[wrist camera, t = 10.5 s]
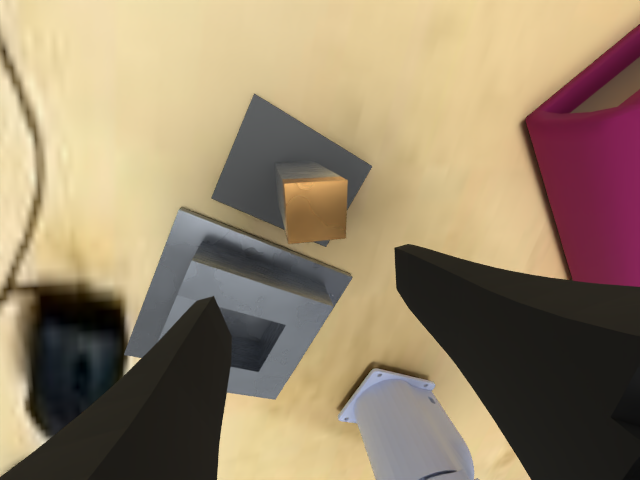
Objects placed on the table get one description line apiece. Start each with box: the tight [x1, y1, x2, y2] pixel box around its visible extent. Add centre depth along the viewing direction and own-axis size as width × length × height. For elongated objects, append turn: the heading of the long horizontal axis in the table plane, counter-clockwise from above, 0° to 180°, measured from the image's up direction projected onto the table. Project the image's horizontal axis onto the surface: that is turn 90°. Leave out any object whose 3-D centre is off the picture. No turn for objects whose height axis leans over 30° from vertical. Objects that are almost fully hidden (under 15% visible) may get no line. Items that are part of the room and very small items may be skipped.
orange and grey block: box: [275, 161, 348, 244], centre depth 14 cm, size 3×3×8 cm
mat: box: [212, 94, 372, 247], centre depth 17 cm, size 9×7×1 cm
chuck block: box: [124, 207, 353, 399], centre depth 19 cm, size 14×13×4 cm
